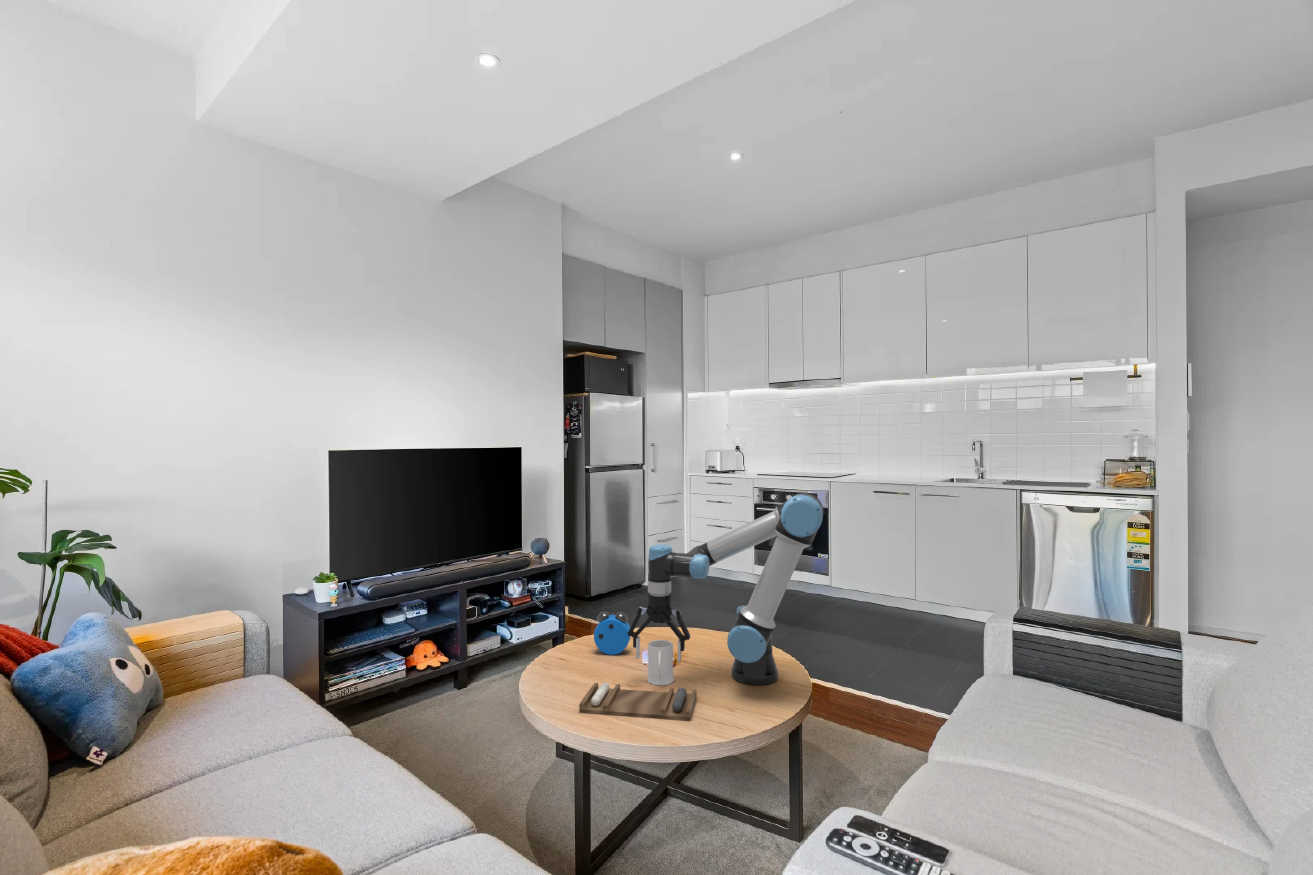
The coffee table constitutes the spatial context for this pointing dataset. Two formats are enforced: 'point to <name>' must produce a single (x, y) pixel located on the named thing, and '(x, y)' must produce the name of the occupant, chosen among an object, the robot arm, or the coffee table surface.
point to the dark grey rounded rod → (679, 699)
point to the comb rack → (639, 703)
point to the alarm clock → (612, 633)
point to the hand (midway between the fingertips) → (658, 659)
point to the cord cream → (600, 694)
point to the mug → (660, 662)
